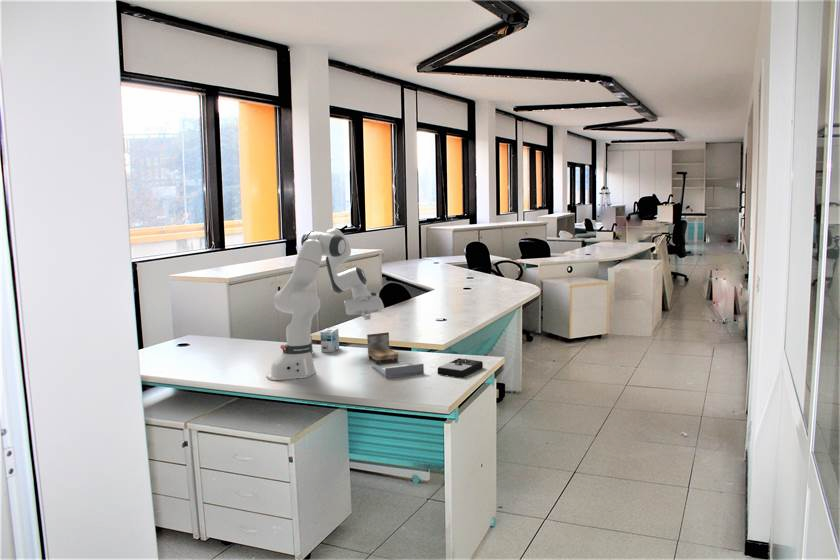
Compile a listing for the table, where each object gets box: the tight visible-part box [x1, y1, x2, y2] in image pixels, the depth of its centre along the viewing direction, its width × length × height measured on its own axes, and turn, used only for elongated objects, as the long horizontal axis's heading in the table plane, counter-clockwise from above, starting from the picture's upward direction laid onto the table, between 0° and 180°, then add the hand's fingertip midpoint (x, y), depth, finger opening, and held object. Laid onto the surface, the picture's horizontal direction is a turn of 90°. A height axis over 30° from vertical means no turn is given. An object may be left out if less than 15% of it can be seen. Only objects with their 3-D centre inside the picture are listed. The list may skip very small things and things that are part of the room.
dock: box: [370, 361, 425, 380], centre depth 319 cm, size 18×24×6 cm
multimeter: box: [437, 357, 484, 379], centre depth 313 cm, size 13×19×5 cm
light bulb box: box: [320, 327, 340, 353], centre depth 363 cm, size 11×7×11 cm, turn 168°
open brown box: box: [366, 332, 399, 365], centre depth 337 cm, size 11×14×12 cm
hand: (367, 319), depth 357 cm, fingers closed
